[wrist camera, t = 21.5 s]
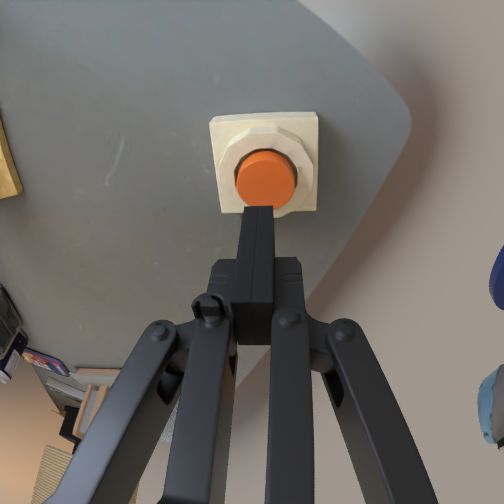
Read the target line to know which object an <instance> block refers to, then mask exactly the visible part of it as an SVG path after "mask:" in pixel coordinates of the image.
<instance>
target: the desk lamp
mask: <svg viewBox="0 0 504 504" xmlns="http://www.w3.org/2000/svg"><path fill="white" fill-rule="evenodd" d="M120 371H121V370H117V369H86V368H79V369H78V372H77V373H71V372H70V373H69V375H71V376H72V377H73V378H74V379H75V380H77V381H78V382H79V383H80V384H82V385H83V386H84V387H85V388H87V390H86V392H85V395H84V398H83V401H82V403H81V406H80V409H79V412H78V415H77V419H76V422H75V425H74V428H73V433H72V434H73V435H75V436H76V437H78V438H80V439H82V438H83V436H84V434H85V432H86V430H87V429H88V427H89V425H90V423H91V421H92V420H93V418H94V416H95V414H96V412H97V411H98V409H99V407H100V405H101V404H102V402H103V400H104V398H105V397H106V395H107V393H108V391H109V390H110V388H111V386H112V384H113V383H114V381H115V379H116V378H117V376H118V374H119V372H120ZM72 457H73V455H72V454H70V453H67V452H65V451H62V450H60V449H58V448H55V447H52V446H48V445H46V446H45V450H44V453H43V457H42V461H41V464H40V468H39V471H38V475H37V479H36V483H35V487H34V492H33V496H32V500H31V504H41V503H42V502H44V501H45V500H46V499H47V498H48V497H49V496H51V495H52V494H53V493H54V492H55V490H56V488H57V486H58V484H59V482H60V480H61V478H62V476H63V474H64V472H65V470H66V468H67V466H68V464H69V462H70V461H71V459H72ZM138 486H139V483H138V485H137V487H136V489H135V491H134V493H133V495H132V498H131V500H130V502H129V504H135V502H136V496H137V491H138Z"/></svg>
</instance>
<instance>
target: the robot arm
mask: <svg viewBox="0 0 504 504" xmlns="http://www.w3.org/2000/svg"><path fill="white" fill-rule="evenodd" d="M191 306H192V309H193V312H194V315H195V318H196V319H194V320H192V321H190V322H187V323H184V324H180V325H176V326H175V325H174V324H173V323H172V322H170V321H168V320H158V321H155V322H153V323H151V324H150V325H149V326H148V327H147V328H146V329H145V331H144V333H143V334H142V336H141V338H140V339H139V341H138V342H137V344H136V346H135V347H134V349H133V351H132V352H131V354H130V356H129V357H128V359H127V361H126V362H125V364H124V366H123V367H122V369H121V371H120V372H119V374H118V376H117V378H116V379H115V381H114V383H113V384H112V386H111V388H110V390H109V391H108V393H107V395H106V397H105V398H104V400H103V402H102V404H101V405H100V407H99V409H98V411H97V412H96V414H95V416H94V418H93V420H92V421H91V423H90V425H89V427H88V429H87V430H86V432H85V434H84V436H83V438H82V440H81V442H80V443H79V445H78V447H77V449H76V451H75V453H74V455H73V457H72V459H71V461H70V462H69V464H68V466H67V468H66V470H65V472H64V474H63V476H62V478H61V480H60V482H59V484H58V486H57V488H56V490H55V492H54V493H53V494H52V495H51V496H49V497H48V498H47V499H46V500H45V501H44V502H42V503H41V504H129V502H130V500H131V498H132V495H133V493H134V491H135V489H136V487H137V485H138V483H139V481H140V478H141V476H142V474H143V472H144V470H145V468H146V466H147V463H148V461H149V459H150V457H151V455H152V453H153V451H154V449H155V447H156V445H157V442H158V440H159V438H160V436H161V434H162V432H163V430H164V428H165V426H166V423H167V421H168V419H169V417H170V415H171V413H172V411H173V409H174V407H175V404H176V402H177V400H178V398H179V396H180V399H179V404H178V409H177V415H176V420H175V426H174V431H173V437H172V442H171V448H170V454H169V460H168V466H167V472H166V479H165V485H164V492H163V496H162V498H161V500H159V502H158V503H157V504H224V501H225V490H226V479H227V468H228V457H229V447H230V436H231V425H232V413H233V404H234V393H235V382H236V372H237V361H238V354H237V341H238V344H239V345H271V363H270V394H269V395H270V396H269V422H268V447H267V467H266V468H267V469H266V488H265V504H314V429H313V401H312V380H311V370H313V371H317V372H320V373H321V376H322V379H323V381H324V384H325V387H326V390H327V392H328V395H329V398H330V401H331V403H332V406H333V409H334V412H335V415H336V418H337V420H338V423H339V426H340V429H341V432H342V435H343V437H344V440H345V443H346V446H347V449H348V452H349V455H350V458H351V461H352V464H353V467H354V470H355V473H356V475H357V478H358V481H359V484H360V487H361V490H362V493H363V496H364V499H365V502H366V504H439V503H438V501H437V498H436V495H435V492H434V490H433V487H432V484H431V482H430V479H429V477H428V474H427V471H426V469H425V466H424V464H423V461H422V459H421V456H420V454H419V452H418V449H417V447H416V445H415V442H414V440H413V437H412V435H411V433H410V430H409V428H408V426H407V423H406V421H405V419H404V417H403V414H402V412H401V410H400V407H399V405H398V403H397V401H396V399H395V396H394V394H393V392H392V390H391V388H390V386H389V384H388V381H387V379H386V377H385V375H384V373H383V371H382V369H381V367H380V365H379V363H378V361H377V359H376V357H375V354H374V352H373V351H372V349H371V346H370V344H369V342H368V340H367V338H366V336H365V334H364V333H363V330H362V329H361V327H360V326H359V325H358V323H356V322H355V321H353V320H350V319H346V318H344V319H337V320H335V321H333V322H332V323H331V324H328V323H324V322H320V321H317V320H315V319H313V318H312V317H311V316H310V315H308V313H307V311H306V309H305V301H304V289H303V279H302V268H301V264H300V262H299V261H298V259H297V258H296V257H275V237H274V213H273V205H269V206H244V211H243V218H242V225H241V231H240V238H239V245H238V252H237V259H218V260H217V262H216V263H215V264H214V265H213V267H212V270H211V275H210V279H209V284H208V288H207V293H204V294H202V295H199V296H198V297H197V298H196V299H194V301H193V303H192V305H191ZM478 416H479V422H480V426H481V430H482V432H483V433H484V438H485V440H486V441H487V442H488V443H489V444H496V443H497V445H498V450H499V452H502V453H504V364H502V365H500V366H499V367H498V369H497V370H495V371H494V372H493V373H492V374H490V375H489V376H488V377H486V378H485V379H484V380H483V382H482V384H481V386H480V388H479V393H478Z"/></svg>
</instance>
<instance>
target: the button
mask: <svg viewBox="0 0 504 504" xmlns="http://www.w3.org/2000/svg"><path fill="white" fill-rule="evenodd" d="M236 187H237V191H238V194H239V196H240V197H241V199H242V200H243V201H244V202H245V203H246V204H247V205H249V206H269V205H273V210H275V209H278V208H280V207H282V206H284V205H285V204H286V203H287V202H288V201H289V200H290V199H291V197H292V195H293V193H294V189H295V181H294V173H293V169H292V166H291V164H290V163H289V162H288V160H287V159H286V158H285V157H283V156H282V155H280V154H278V153H276V152H272V151H259V152H256V153H253V154H251V155H250V156H248V157H247V158H246V159H245V160H244V161H243V163H242V164H241V166H240V169H239V173H238V177H237V182H236Z"/></svg>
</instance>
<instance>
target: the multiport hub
mask: <svg viewBox="0 0 504 504" xmlns="http://www.w3.org/2000/svg"><path fill="white" fill-rule="evenodd" d="M46 384H47V386H48V388H49V389H50V390H53V391H55V392H57V393H59V394H61V395H63V396H66V397H68V398H70V399H72V400H75V401H77V402H79V403H82V401H83V398H84V395H85V392H82V391H80V390H78V389H75V388H73V387H71V386H68V385H66V384H64V383H62V382H60V381H57V380H55V379H53V378H51V377H48V379H47V382H46Z"/></svg>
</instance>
